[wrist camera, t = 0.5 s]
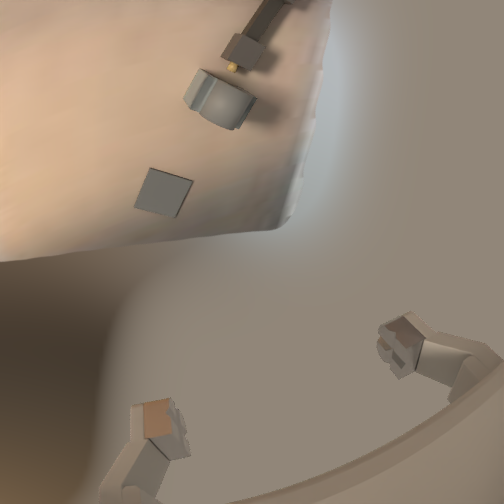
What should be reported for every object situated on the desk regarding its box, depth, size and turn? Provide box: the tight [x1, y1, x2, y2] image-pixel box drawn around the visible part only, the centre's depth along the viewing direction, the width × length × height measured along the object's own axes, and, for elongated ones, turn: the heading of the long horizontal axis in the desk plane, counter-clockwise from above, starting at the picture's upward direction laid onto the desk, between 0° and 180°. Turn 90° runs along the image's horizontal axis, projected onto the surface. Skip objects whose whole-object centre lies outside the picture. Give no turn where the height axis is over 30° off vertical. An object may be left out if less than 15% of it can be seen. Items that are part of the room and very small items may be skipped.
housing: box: [183, 69, 257, 130], centre depth 45 cm, size 6×9×12 cm, turn 59°
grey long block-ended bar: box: [221, 0, 295, 73], centre depth 41 cm, size 20×4×4 cm, turn 149°
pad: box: [134, 168, 192, 218], centre depth 59 cm, size 9×9×1 cm
